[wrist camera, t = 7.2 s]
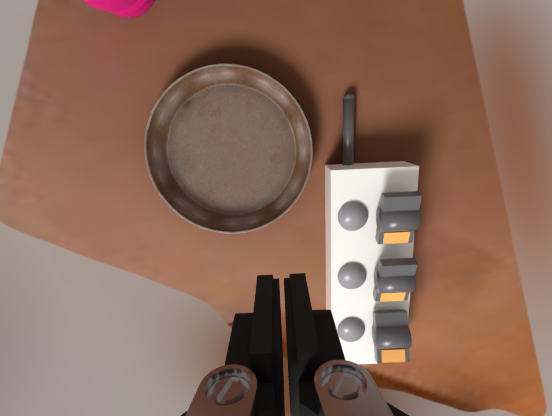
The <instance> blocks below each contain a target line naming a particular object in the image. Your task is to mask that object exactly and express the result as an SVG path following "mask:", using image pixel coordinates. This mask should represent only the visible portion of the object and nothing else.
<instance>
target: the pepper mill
mask: <svg viewBox="0 0 552 416" xmlns="http://www.w3.org/2000/svg"><path fill="white" fill-rule="evenodd" d="M84 1H85V2H86V3H88V4H89V5H91V6H93V7H95V8H97V9H100V10H104V11H111V12H112V13H114V14H116V15H118V16H121V17H125V18H133V17H137V16H140V15H142V14H144V13H145V12H146V11H147V10H148V9H149V8H150V7H151V6H152V4H153V2H154V0H84Z"/></svg>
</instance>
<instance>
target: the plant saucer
mask: <svg viewBox="0 0 552 416" xmlns="http://www.w3.org/2000/svg"><path fill="white" fill-rule="evenodd" d="M144 144H145V146H144V150H145V160H146V164H147V168H148V172H149V175H150V177H151V180H152V182H153V184H154V186H155V188H156V190H157V192H158V193H159V195H160V196H161V197H162V199H163V200H164V201H165V202H166V204H167V205H168V206H169V207H170V208H171V209H172V210H173V211H174V212H175V213H177V214H178V215H179V216H180V217H182V218H183V219H185V220H186V221H188V222H190V223H191V224H193V225H195V226H198V227H200V228H202V229H205V230H209V231H213V232H218V233H226V234H237V233H246V232H251V231H254V230H258V229H261V228H263V227H265V226H268V225H269V224H271V223H273V222H275V221H276V220H278V219H279V218H280V217H282V216H283V215H284V214H285V213H286V212H288V210H289V209H290V208H291V207H292V206H293V205H294V204H295V202H296V201H297V200H298V198H299V197H300V195H301V193H302V192H303V190H304V188H305V185H306V183H307V180H308V178H309V174H310V170H311V165H312V156H313V148H312V137H311V132H310V128H309V125H308V122H307V119H306V117H305V115H304V112H303V110H302V109H301V107H300V105H299V104H298V102H297V101H296V99H295V98H294V97H293V96H292V94H291V93H290V92H289V91H288V90H287V89H286V88H285V87H284V86H283V85H282V84H280V83H279V82H278V81H276V80H275V79H274V78H272V77H270V76H269V75H267V74H265V73H263V72H261V71H259V70H256V69H254V68H251V67H248V66H243V65H237V64H214V65H208V66H204V67H201V68H198V69H195V70H193V71H191V72H188V73H187V74H185V75H183V76H182V77H180V78H179V79H177V80H176V81H175V82H173V83H172V84H171V85H170V86H169V87H168V88H167V89H166V90H165V91H164V93H163V94H162V95H161V97H160V98H159V99H158V101H157V102H156V104H155V106H154V108H153V110H152V112H151V114H150V117H149V119H148V123H147V126H146V132H145V142H144Z"/></svg>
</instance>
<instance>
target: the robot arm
mask: <svg viewBox="0 0 552 416" xmlns="http://www.w3.org/2000/svg"><path fill="white" fill-rule="evenodd" d="M284 293H285V314H286V335H287V356H288V373H289V391H290V392H289V393H290V410H291V411H290V412H291V416H409V415H407V414H405V413H403V412H402V411H400V410H399V409H397V408H395V407H394V406H392V405H390V404H389V403H387V402H386V401H385V399H384V398H383V396H382V394H381V392H380V391H379V389H378V387H377V385H376V384H375V382H374V380H373V378H372V377H371V375H370V374H369V373H368V371H367V370H366V369H364V368H363V367H362V366H360V365H359V364H356V363H354V362H351V361H346V360H345V356H344V353H343V350H342V346H341V343H340V339H339V336H338V332H337V329H336V325H335V322H334V319H333V315H332V312H331V310H330V309H329V310H312V308H311V302H310V297H309V292H308V287H307V282H306V276H305V273H300V274H290V278H284ZM181 416H285V407H284V376H283V348H282V328H281V308H280V289H279V279H273V275H258V276H257V284H256V294H255V303H254V312H253V313H240V314H235V317H234V322H233V326H232V332H231V336H230V341H229V347H228V352H227V356H226V361H225V366H221V367H218V368H216V369H214V370H212V371H211V372H210V373H209V374H207V375H206V376H205V377H204V379H203V380H202V382H201V383H200V385H199V387H198V389H197V392H196V394H195V396H194V398H193V400H192V402H191V404H190V407H189V409H188V411H186V412H185V413H184V414H182V415H181Z"/></svg>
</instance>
